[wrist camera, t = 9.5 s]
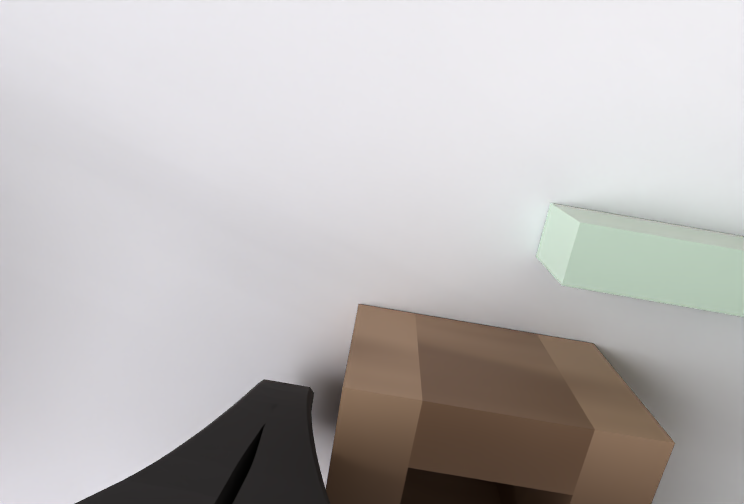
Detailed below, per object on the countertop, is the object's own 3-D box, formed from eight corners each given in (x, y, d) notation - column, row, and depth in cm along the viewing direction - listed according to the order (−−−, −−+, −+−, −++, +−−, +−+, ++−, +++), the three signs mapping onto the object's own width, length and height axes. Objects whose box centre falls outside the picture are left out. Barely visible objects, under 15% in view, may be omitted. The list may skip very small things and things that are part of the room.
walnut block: (534, 530, 13) (580, 679, 10) (326, 496, 13) (302, 632, 10) (593, 343, 11) (674, 442, 8) (358, 303, 11) (342, 386, 8)
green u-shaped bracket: (807, 670, 14) (865, 751, 12) (440, 606, 14) (446, 678, 12) (1030, 285, 11) (1153, 321, 9) (550, 203, 11) (579, 222, 9)
